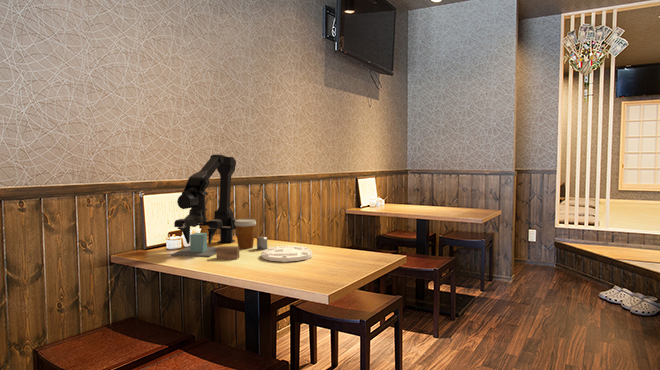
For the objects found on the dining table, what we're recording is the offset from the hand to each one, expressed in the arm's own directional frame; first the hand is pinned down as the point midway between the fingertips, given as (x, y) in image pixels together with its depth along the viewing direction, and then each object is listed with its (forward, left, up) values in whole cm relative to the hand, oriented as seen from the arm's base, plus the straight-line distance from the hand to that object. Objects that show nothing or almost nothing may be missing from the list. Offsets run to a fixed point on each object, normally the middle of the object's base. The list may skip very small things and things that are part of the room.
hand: (198, 244), depth 177 cm
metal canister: (-10, +24, -4) cm, 26 cm away
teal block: (0, 0, -3) cm, 3 cm away
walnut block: (+9, +16, -4) cm, 19 cm away
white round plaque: (+3, +38, -4) cm, 38 cm away
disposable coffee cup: (-12, +16, -4) cm, 20 cm away
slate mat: (0, 0, -3) cm, 3 cm away
